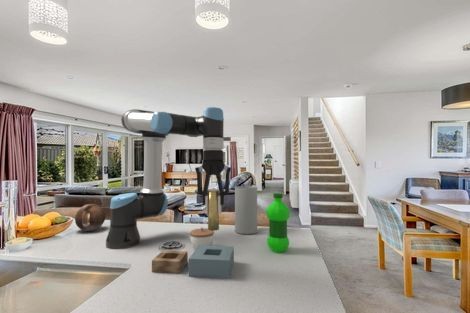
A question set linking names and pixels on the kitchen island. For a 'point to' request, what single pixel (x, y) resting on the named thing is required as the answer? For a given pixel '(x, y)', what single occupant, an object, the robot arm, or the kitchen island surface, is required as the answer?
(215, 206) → the brass pin
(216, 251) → the dock socket
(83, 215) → the wooden sphere
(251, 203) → the cylinder vase
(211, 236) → the lidded jar
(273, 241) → the plastic bottle
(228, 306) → the kitchen island surface
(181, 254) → the block
